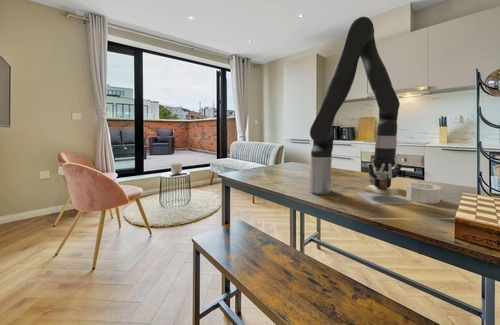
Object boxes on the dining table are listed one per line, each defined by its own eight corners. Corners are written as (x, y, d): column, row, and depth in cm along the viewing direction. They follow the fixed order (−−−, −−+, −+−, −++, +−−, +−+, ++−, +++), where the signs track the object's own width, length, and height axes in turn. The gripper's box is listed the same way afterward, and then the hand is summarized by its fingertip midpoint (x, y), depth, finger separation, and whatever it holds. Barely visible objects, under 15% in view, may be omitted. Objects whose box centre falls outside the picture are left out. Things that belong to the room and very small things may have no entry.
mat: (372, 205, 91) (372, 204, 91) (355, 193, 107) (355, 192, 107) (414, 205, 90) (414, 203, 90) (391, 193, 106) (391, 192, 106)
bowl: (417, 204, 91) (418, 189, 90) (400, 196, 101) (401, 183, 101) (446, 204, 90) (448, 189, 89) (426, 196, 101) (427, 182, 100)
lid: (373, 195, 92) (374, 183, 91) (359, 186, 105) (360, 176, 104) (407, 195, 91) (408, 183, 91) (388, 187, 104) (389, 176, 103)
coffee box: (368, 185, 121) (370, 155, 119) (381, 185, 120) (383, 155, 117) (374, 190, 112) (376, 157, 110) (388, 190, 111) (390, 157, 108)
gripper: (372, 147, 92) (369, 189, 95) (409, 147, 91) (404, 189, 94) (363, 146, 99) (361, 185, 102) (397, 145, 99) (394, 185, 101)
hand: (382, 187), depth 98 cm, fingers closed on lid, 3 cm apart
